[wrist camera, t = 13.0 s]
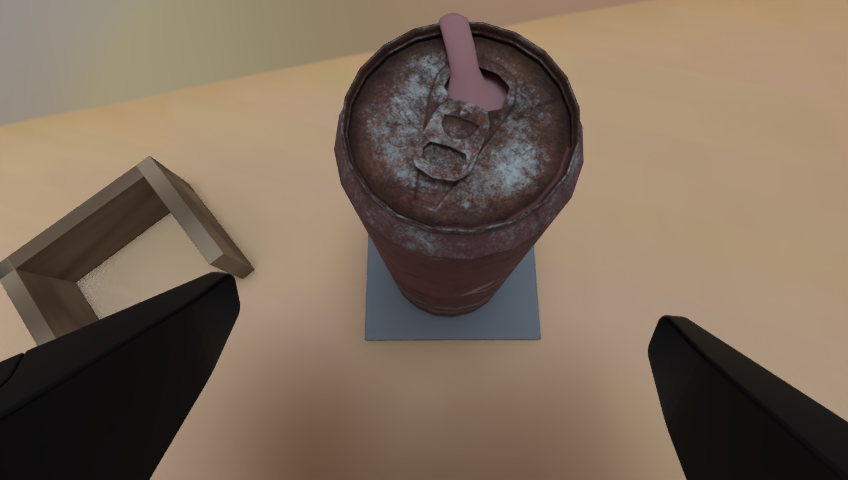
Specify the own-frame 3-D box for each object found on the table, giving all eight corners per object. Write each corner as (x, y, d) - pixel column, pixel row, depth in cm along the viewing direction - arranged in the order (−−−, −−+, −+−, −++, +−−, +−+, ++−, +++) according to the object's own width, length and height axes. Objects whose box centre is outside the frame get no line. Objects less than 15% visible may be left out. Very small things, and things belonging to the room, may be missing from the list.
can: (486, 192, 24) (546, -26, 11) (518, 303, 22) (639, 209, 9) (381, 216, 24) (305, 25, 10) (404, 329, 22) (349, 275, 9)
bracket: (254, 269, 24) (223, 253, 20) (116, 379, 22) (58, 382, 19) (188, 183, 25) (149, 155, 22) (55, 281, 24) (-8, 267, 20)
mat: (539, 339, 22) (540, 338, 22) (365, 340, 22) (364, 339, 22) (527, 178, 24) (528, 176, 24) (371, 181, 25) (370, 179, 24)
